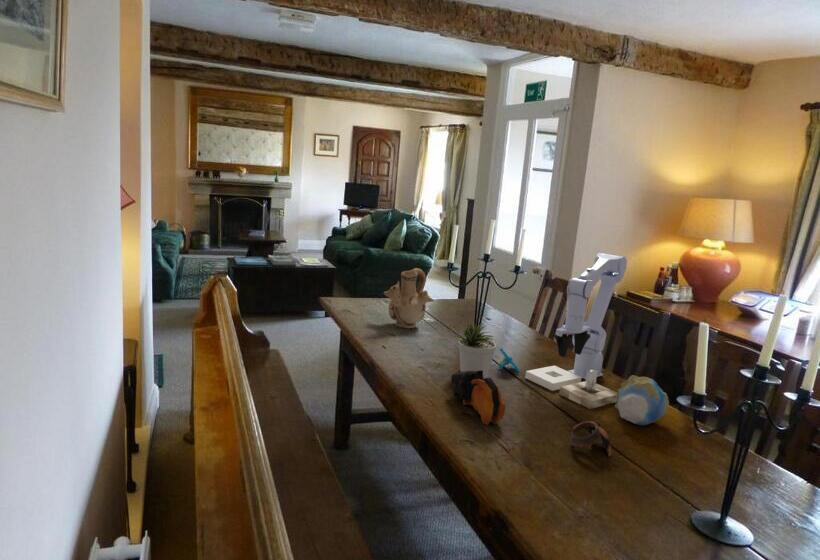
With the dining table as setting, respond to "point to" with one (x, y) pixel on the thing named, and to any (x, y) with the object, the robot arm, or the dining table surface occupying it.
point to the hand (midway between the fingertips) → (569, 355)
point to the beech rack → (588, 395)
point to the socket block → (552, 377)
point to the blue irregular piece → (507, 361)
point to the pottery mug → (591, 436)
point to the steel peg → (590, 381)
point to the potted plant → (475, 350)
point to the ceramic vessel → (408, 299)
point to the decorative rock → (641, 400)
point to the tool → (479, 395)
